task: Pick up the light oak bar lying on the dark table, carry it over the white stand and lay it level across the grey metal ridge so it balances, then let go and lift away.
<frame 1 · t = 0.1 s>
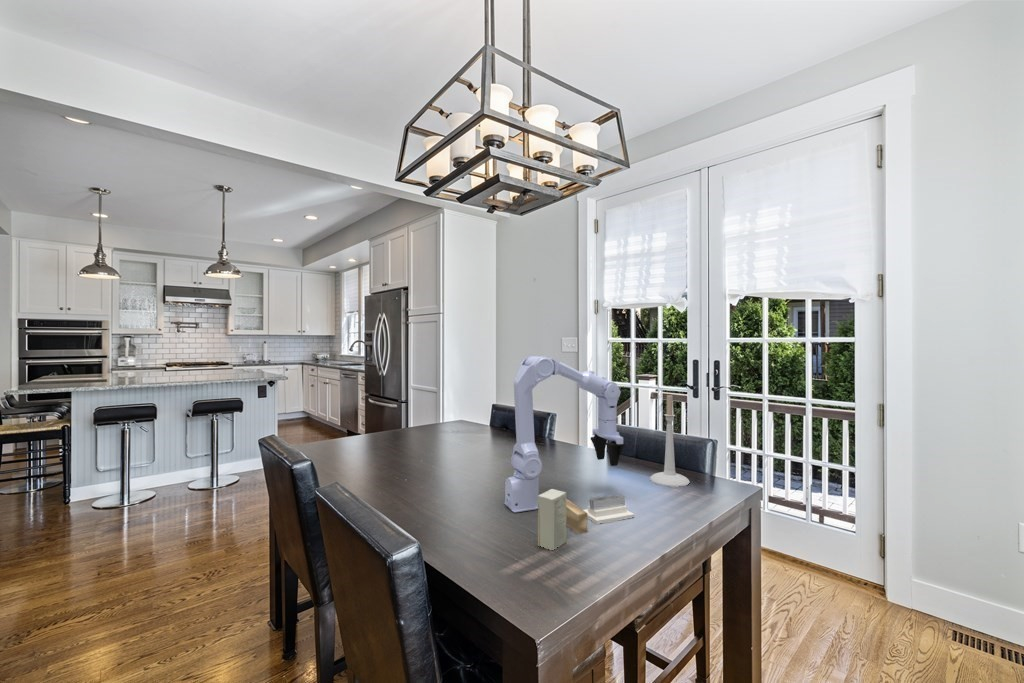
hand: (607, 462, 142), 10 cm above the table, tool pointing down, fingers open, 7 cm apart
oak bar: (569, 523, 120), on the table
skincare box: (552, 545, 107), on the table
ridge stand: (607, 515, 125), on the table
candlestick: (669, 481, 155), on the table
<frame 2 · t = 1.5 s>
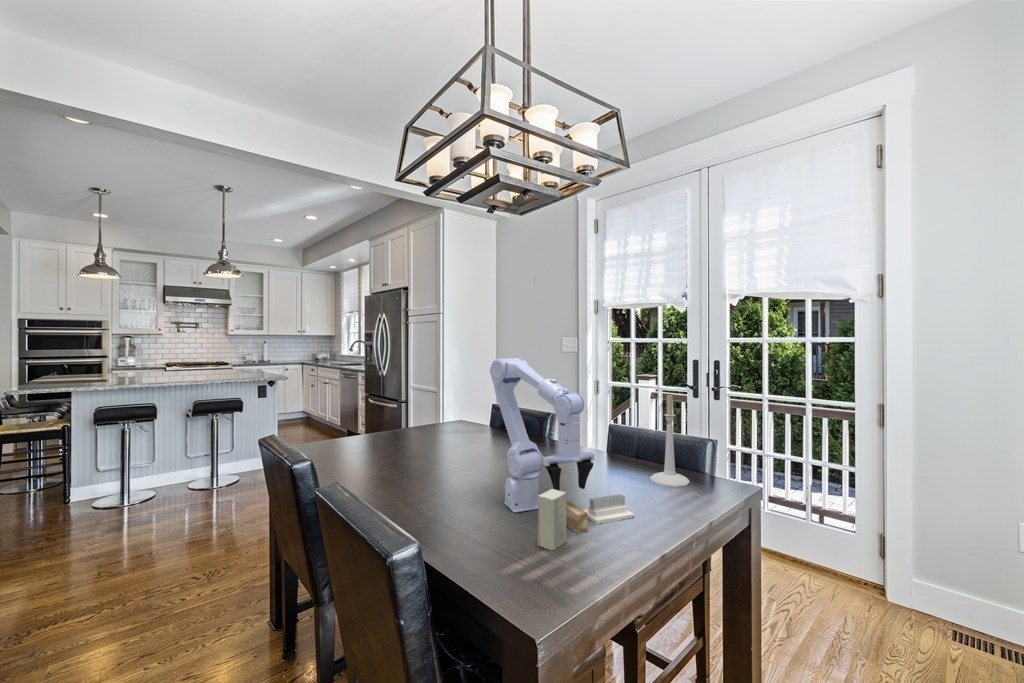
hand: (569, 489, 120), 9 cm above the table, tool pointing down, fingers open, 7 cm apart
nothing on the table moved.
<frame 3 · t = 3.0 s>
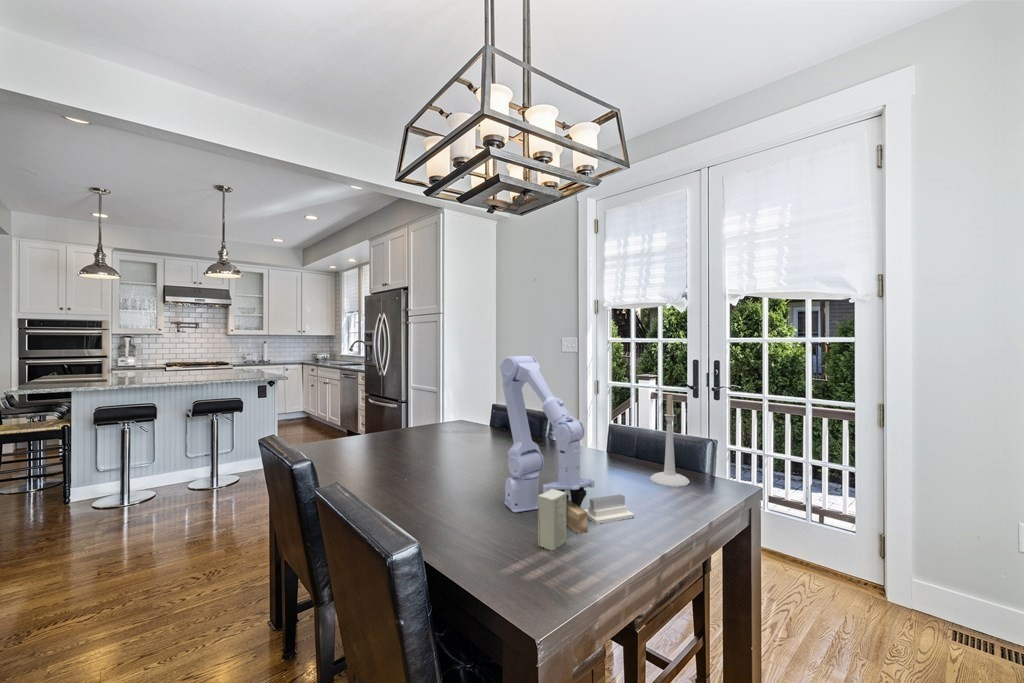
hand: (569, 516, 120), 1 cm above the table, tool pointing down, fingers closed on oak bar, 3 cm apart
oak bar: (569, 522, 120), on the table, touching gripper
everything else where it was.
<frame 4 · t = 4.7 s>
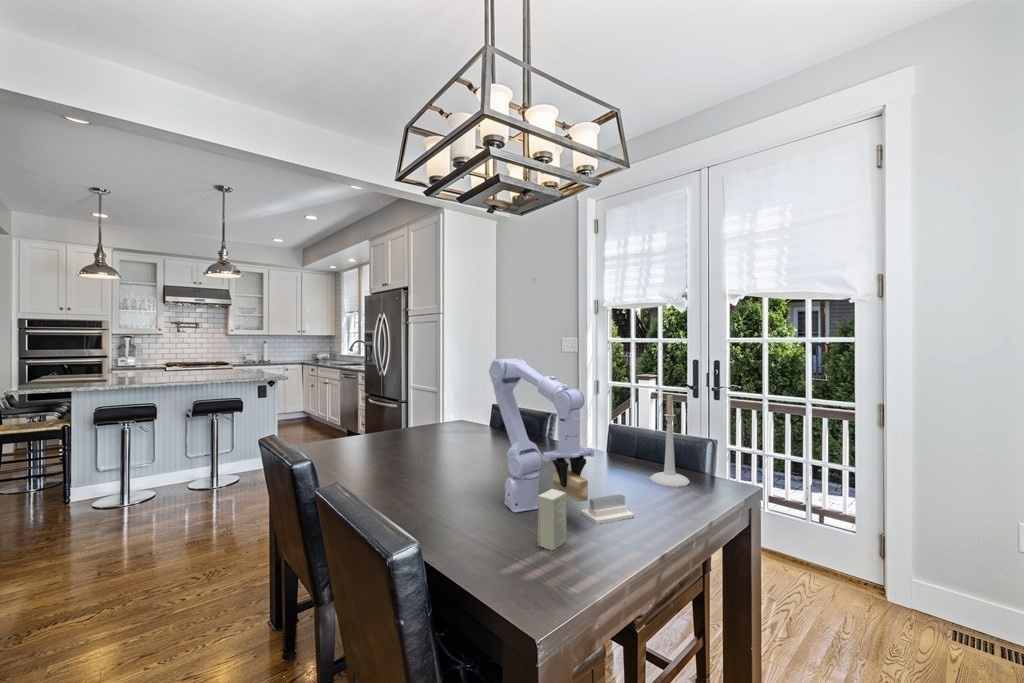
hand: (569, 485, 120), 10 cm above the table, tool pointing down, fingers closed on oak bar, 3 cm apart
oak bar: (569, 492, 120), point 8 cm above the table, touching gripper
everything else where it was.
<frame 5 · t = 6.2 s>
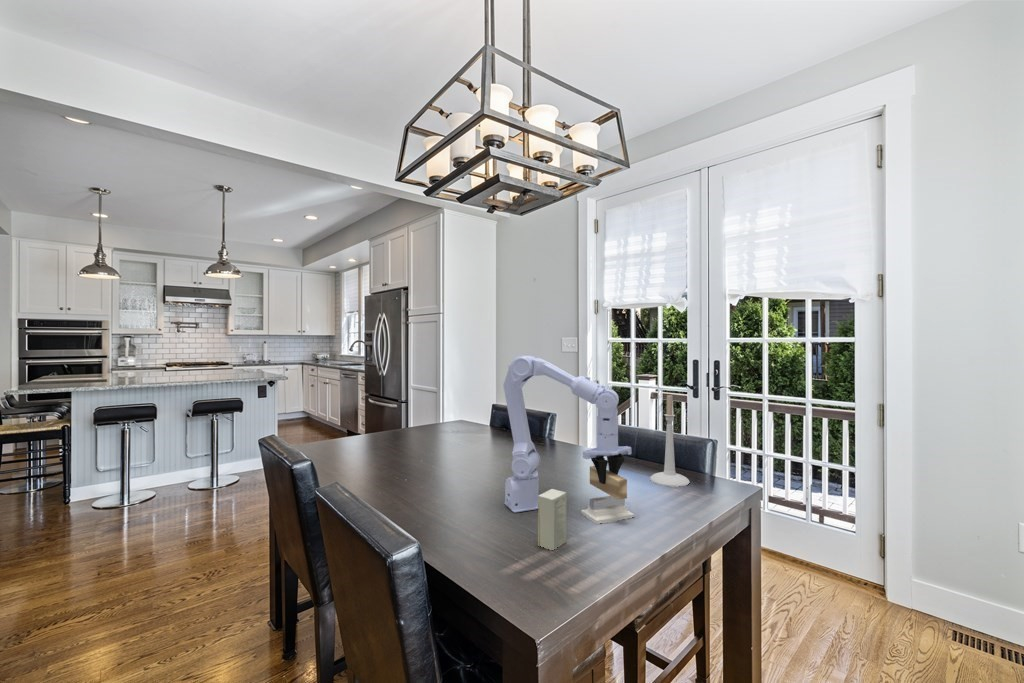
hand: (607, 482, 125), 9 cm above the table, tool pointing down, fingers closed on oak bar, 3 cm apart
oak bar: (607, 490, 125), point 7 cm above the table, touching gripper
everything else where it was.
when the fingers open (7 cm above the table, at t = 7.0 s): oak bar stays where it is, resting on ridge stand.
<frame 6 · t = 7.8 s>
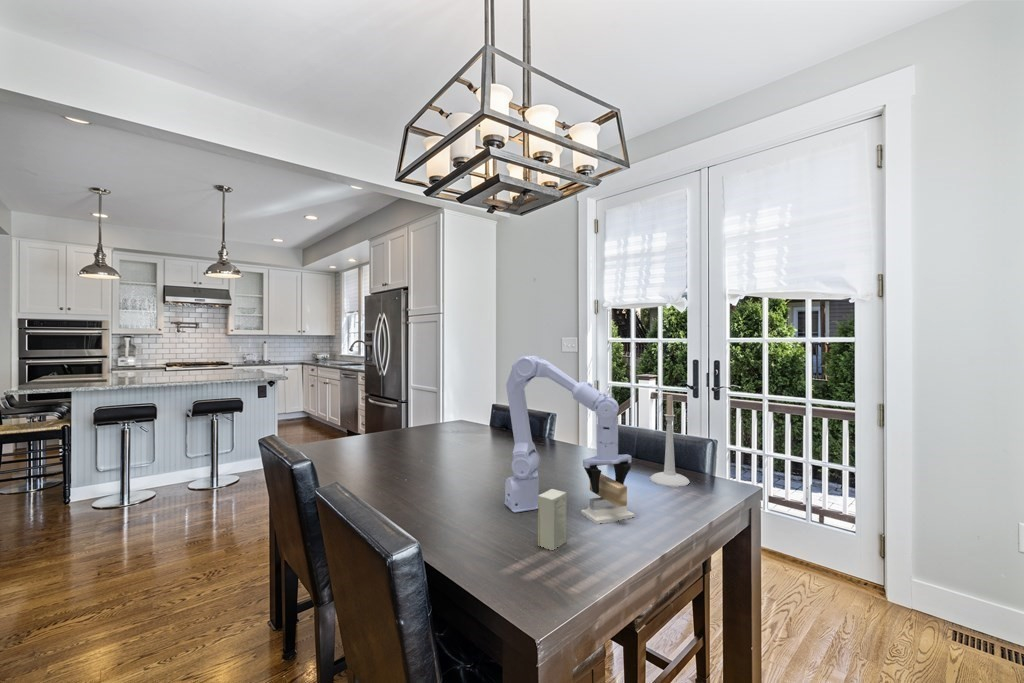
hand: (607, 490, 125), 7 cm above the table, tool pointing down, fingers open, 7 cm apart
oak bar: (607, 497, 125), point 5 cm above the table, touching ridge stand
everything else where it was.
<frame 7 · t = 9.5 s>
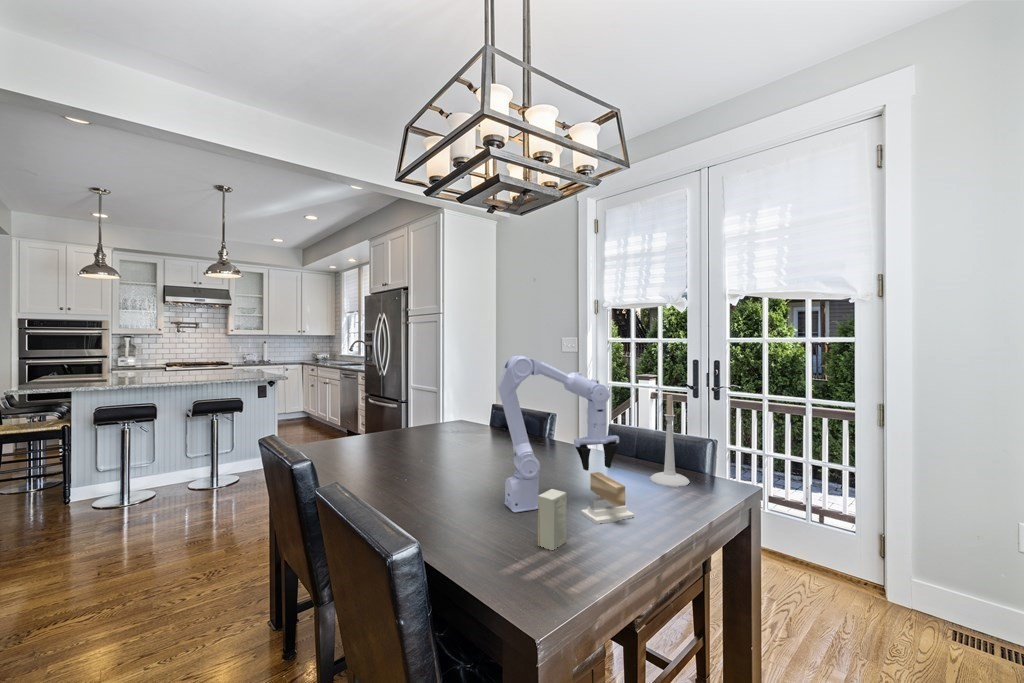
hand: (596, 468, 136), 10 cm above the table, tool pointing down, fingers open, 7 cm apart
nothing on the table moved.
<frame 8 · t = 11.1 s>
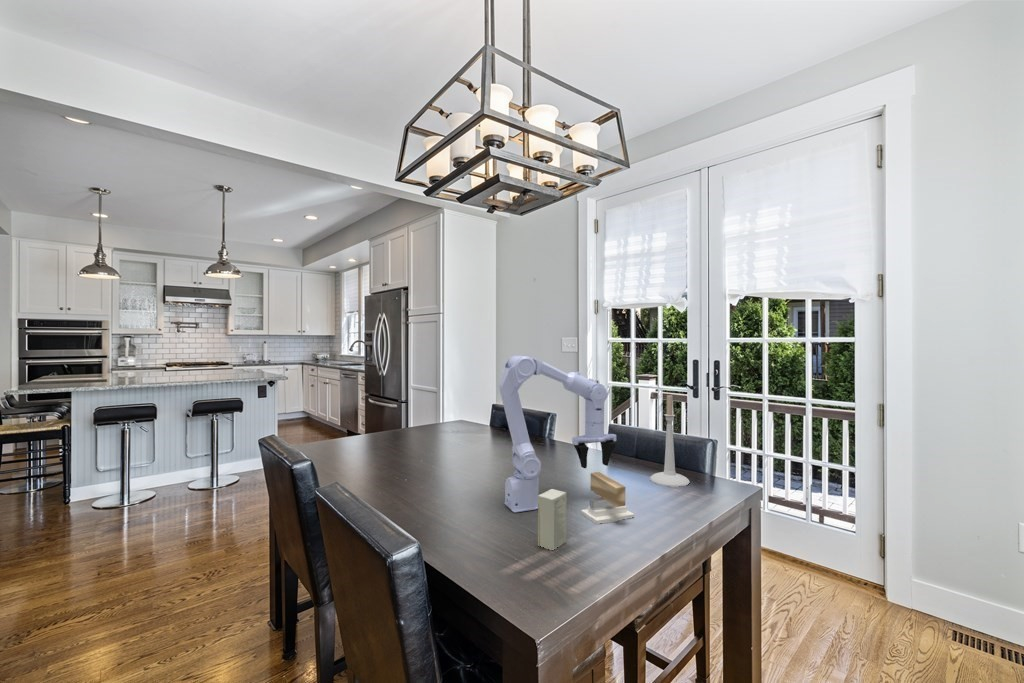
hand: (594, 466, 138), 10 cm above the table, tool pointing down, fingers open, 7 cm apart
nothing on the table moved.
at the end: oak bar tilted 0°; oak bar 0.1 cm from the target spot, point 5.0 cm above the table; the gripper is holding nothing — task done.
